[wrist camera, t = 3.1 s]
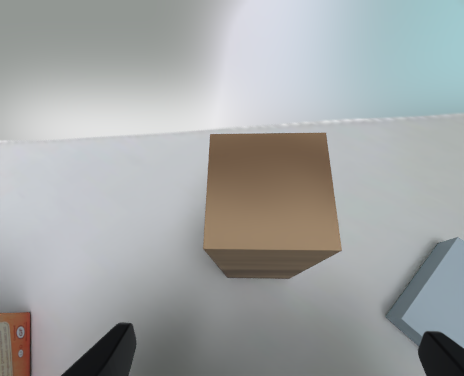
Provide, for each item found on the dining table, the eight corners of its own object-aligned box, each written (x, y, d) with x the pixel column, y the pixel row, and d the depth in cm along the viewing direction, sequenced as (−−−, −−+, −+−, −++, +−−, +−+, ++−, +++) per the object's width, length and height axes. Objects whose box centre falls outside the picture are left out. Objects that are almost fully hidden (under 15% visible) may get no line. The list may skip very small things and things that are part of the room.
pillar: (289, 278, 20) (341, 250, 9) (227, 277, 20) (203, 248, 9) (285, 219, 21) (325, 132, 10) (229, 219, 22) (210, 134, 11)
